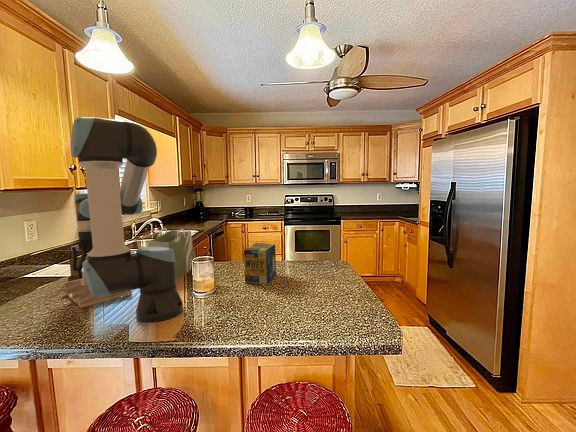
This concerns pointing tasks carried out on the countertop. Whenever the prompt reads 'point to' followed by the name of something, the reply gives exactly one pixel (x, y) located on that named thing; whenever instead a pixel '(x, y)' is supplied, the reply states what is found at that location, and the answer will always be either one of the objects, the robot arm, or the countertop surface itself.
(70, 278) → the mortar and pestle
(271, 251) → the protein box
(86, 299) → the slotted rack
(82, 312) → the countertop surface
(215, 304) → the countertop surface
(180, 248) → the grocery bag
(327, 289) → the countertop surface
